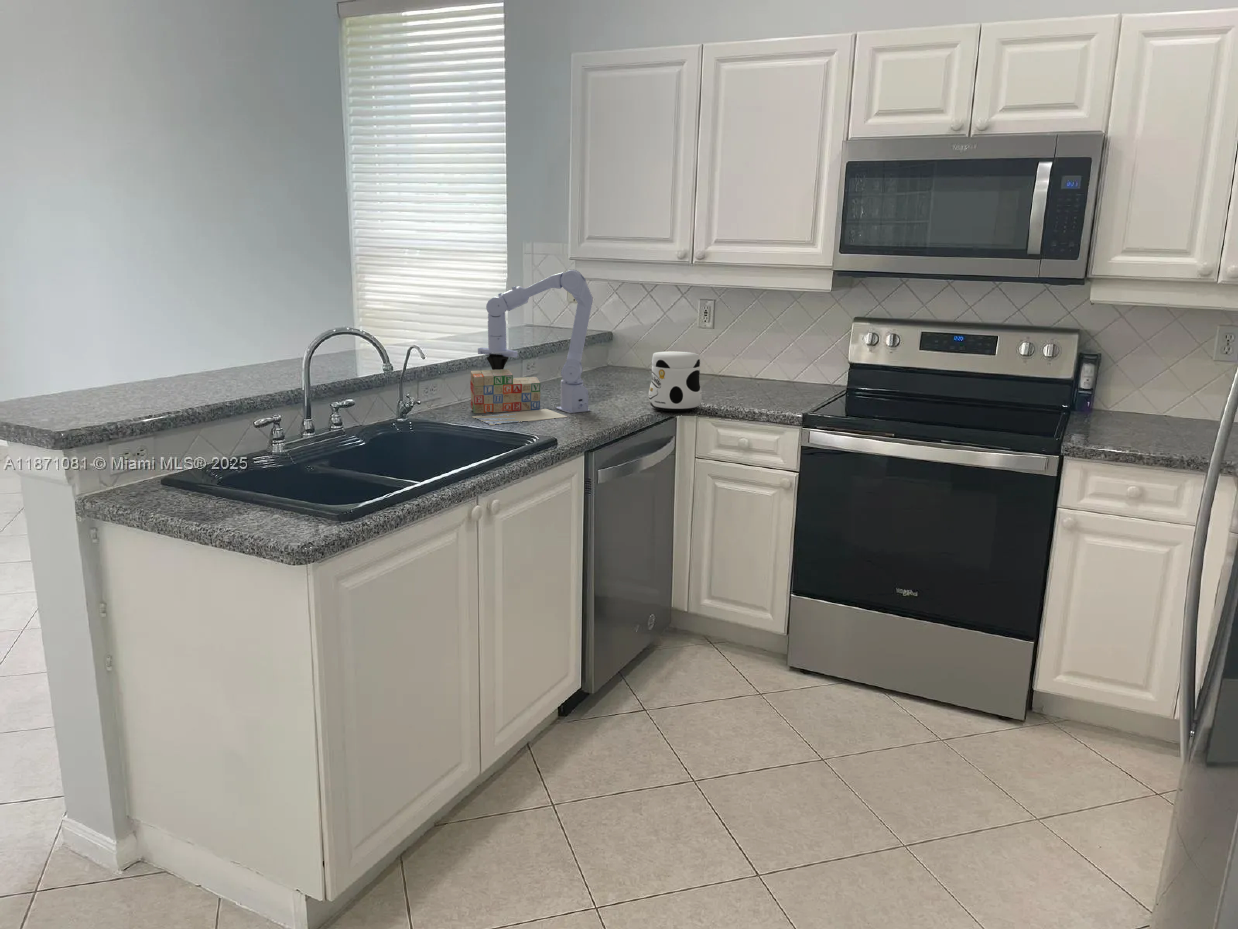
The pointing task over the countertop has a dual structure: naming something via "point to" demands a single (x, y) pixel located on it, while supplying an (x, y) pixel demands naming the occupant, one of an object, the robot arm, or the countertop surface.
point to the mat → (526, 416)
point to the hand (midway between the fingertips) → (498, 378)
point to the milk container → (675, 381)
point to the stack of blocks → (503, 392)
